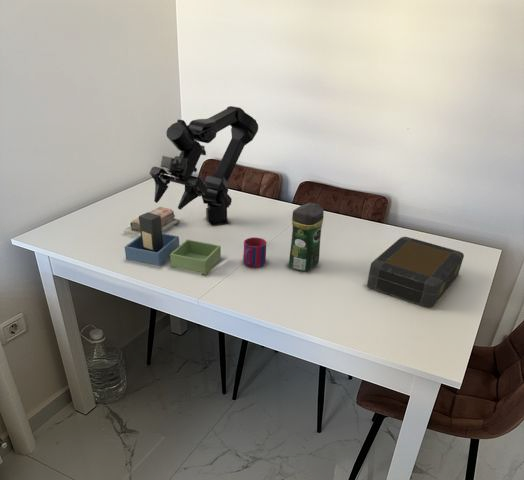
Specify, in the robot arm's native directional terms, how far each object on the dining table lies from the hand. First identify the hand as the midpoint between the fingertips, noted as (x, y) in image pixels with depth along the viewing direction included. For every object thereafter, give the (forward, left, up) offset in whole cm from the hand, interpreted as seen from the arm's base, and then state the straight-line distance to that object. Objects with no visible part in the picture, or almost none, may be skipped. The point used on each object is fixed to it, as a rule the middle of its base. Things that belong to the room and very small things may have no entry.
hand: (167, 205), depth 150 cm
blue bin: (+6, +5, -13) cm, 16 cm away
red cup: (-20, +20, -14) cm, 31 cm away
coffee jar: (-35, +25, -14) cm, 45 cm away
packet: (+6, +5, -13) cm, 15 cm away
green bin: (-5, +14, -13) cm, 20 cm away
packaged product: (+3, -15, -14) cm, 21 cm away
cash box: (-62, +43, -14) cm, 77 cm away
